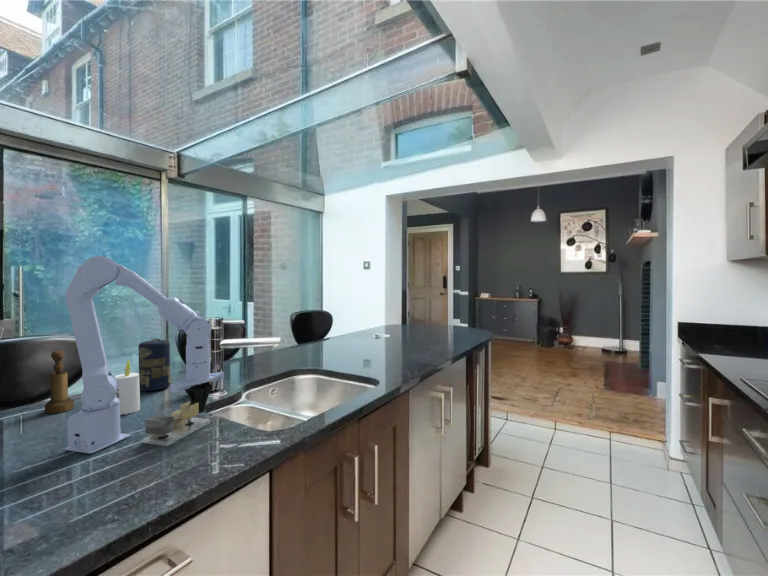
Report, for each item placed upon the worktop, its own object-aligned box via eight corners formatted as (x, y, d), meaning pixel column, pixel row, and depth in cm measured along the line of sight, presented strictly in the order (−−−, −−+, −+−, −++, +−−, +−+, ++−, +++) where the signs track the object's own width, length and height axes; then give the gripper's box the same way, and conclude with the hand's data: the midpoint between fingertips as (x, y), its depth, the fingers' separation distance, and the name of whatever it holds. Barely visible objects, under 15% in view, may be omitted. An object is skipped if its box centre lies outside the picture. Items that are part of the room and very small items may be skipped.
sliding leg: (190, 425, 94) (189, 406, 93) (171, 423, 95) (171, 404, 95) (198, 420, 96) (198, 402, 96) (181, 418, 98) (180, 400, 98)
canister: (132, 391, 127) (131, 340, 127) (156, 384, 137) (155, 336, 136) (153, 393, 125) (152, 341, 124) (177, 386, 134) (175, 336, 133)
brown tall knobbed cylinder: (79, 406, 113) (77, 348, 112) (59, 414, 106) (57, 352, 106) (60, 405, 114) (58, 348, 113) (38, 413, 107) (36, 352, 107)
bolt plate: (167, 446, 85) (166, 441, 85) (143, 442, 87) (142, 438, 87) (210, 423, 98) (210, 419, 98) (188, 420, 100) (188, 416, 100)
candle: (107, 414, 106) (106, 362, 106) (128, 406, 112) (127, 357, 112) (125, 415, 104) (123, 363, 104) (145, 408, 111) (143, 358, 110)
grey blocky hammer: (163, 440, 86) (163, 421, 86) (145, 438, 87) (144, 419, 87) (202, 420, 98) (202, 403, 98) (186, 418, 99) (186, 402, 99)
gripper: (211, 355, 107) (212, 401, 107) (162, 366, 94) (163, 418, 94) (228, 357, 103) (229, 405, 104) (179, 369, 90) (181, 423, 91)
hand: (199, 412), depth 99 cm, fingers closed
